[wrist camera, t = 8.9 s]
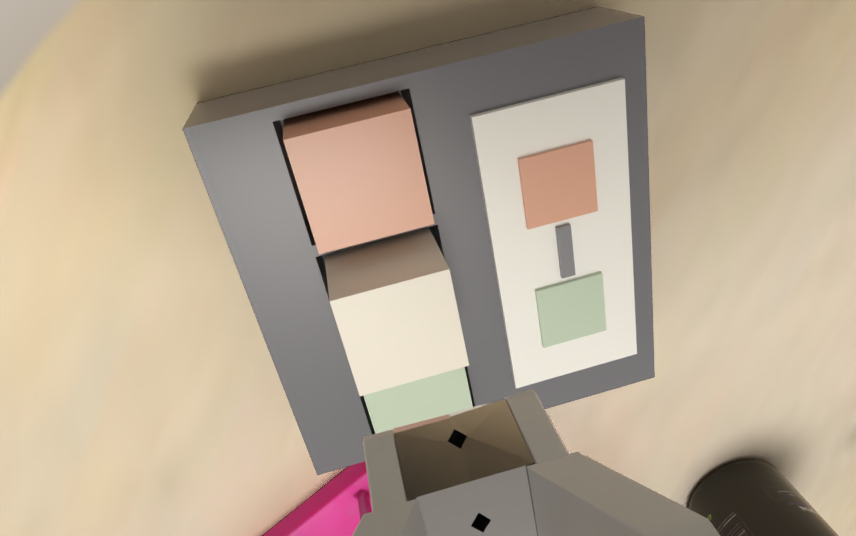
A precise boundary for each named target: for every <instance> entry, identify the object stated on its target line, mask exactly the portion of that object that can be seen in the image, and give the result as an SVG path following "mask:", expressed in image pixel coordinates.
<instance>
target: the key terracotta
mask: <svg viewBox="0 0 856 536" xmlns="http://www.w3.org/2000/svg"><path fill="white" fill-rule="evenodd" d="M283 141H284V145H285V148H286V151H287V154H288V157H289V160H290V164H291V167H292V170H293V173H294V176H295V180H296V183H297V186H298V189H299V192H300V195H301V199H302V202H303V205H304V208H305V211H306V215H307V218H308V221H309V224H310V227H311V230H312V234H313V237H314V240H315V243H316V246H317V250H318V253H319V254H323V253H327V252H330V251H334V250H338V249H342V248H346V247H349V246H353V245H357V244H361V243H365V242H368V241H372V240H376V239H380V238H384V237H387V236H391V235H395V234H399V233H403V232H406V231H410V230H414V229H418V228H422V227H425V226H429V225H433V224H434V219H433V214H432V209H431V204H430V200H429V195H428V190H427V185H426V181H425V176H424V171H423V166H422V161H421V157H420V152H419V147H418V142H417V138H416V133H415V128H414V123H413V118H412V114H411V109H410V107H409V106H408V105H407V103H406V102H405V100H404V99H403V98H402V96H401V95H400V94H399V92H398V91H397V92H393V93H388V94H384V95H380V96H376V97H372V98H368V99H364V100H360V101H356V102H352V103H348V104H344V105H340V106H335V107H331V108H327V109H323V110H319V111H315V112H311V113H307V114H303V115H299V116H295V117H291V118H287V119H284V123H283Z"/></svg>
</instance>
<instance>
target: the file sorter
mask: <svg viewBox="0 0 856 536" xmlns="http://www.w3.org/2000/svg"><path fill="white" fill-rule="evenodd" d="M370 512H372V506H371V499H370V492H369V484H368V477H367V470H366V463H365V462H361V463H358V464H354V465H351V466H349V467H347V468H346V469H345V470H344V471H342V472H341V473H340V474H339V475H337V476H336V477H335V478H333V479H332V480H331V481H330V482H329V483H327V484H326V485H325V486H324V487H323V488H321V489H320V490H319V491H318V492H316V493H315V494H314V495H313V496H311V497H310V498H309V499H308V500H306V501H305V502H304V503H303V504H301V505H300V506H299V507H298V508H296V509H295V510H294V511H293V512H291V513H290V514H289V515H288V516H286V517H285V518H284V519H283V520H281V521H280V522H279V523H278V524H276V525H275V526H274V527H273V528H272V529H270V530H269V531H268V532H267V533H265V534H264V535H263V536H352V535H353V533H354V531H355V529H356V527H357V526H358V524H359V522H360V520H361V518H362V516H363V515H364V514H366V513H370Z"/></svg>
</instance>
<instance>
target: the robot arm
mask: <svg viewBox="0 0 856 536" xmlns="http://www.w3.org/2000/svg"><path fill="white" fill-rule="evenodd" d="M363 448H364V456H365V463H366V470H367V477H368V484H369V492H370V499H371V506H372V512H370V513H366V514H364V515H363V516H362V518H361V520H360V522H359V524H358V526H357V527H356V529H355V531H354V533H353V535H352V536H720V535H719V533H718V532H717V530H716V529H715V528H714V526H713V525H712V523H711V522H710V521H709V519H707V518H705V517H703V516H701V515H700V514H698V513H696V512H694V511H692V510H690V509H688V508H686V507H684V506H682V505H680V504H678V503H676V502H674V501H672V500H670V499H668V498H666V497H665V496H663V495H661V494H659V493H657V492H655V491H653V490H651V489H649V488H647V487H645V486H643V485H641V484H639V483H637V482H635V481H633V480H632V479H630V478H628V477H626V476H624V475H622V474H620V473H618V472H616V471H614V470H612V469H610V468H608V467H606V466H604V465H602V464H600V463H598V462H597V461H595V460H593V459H591V458H589V457H587V456H585V455H583V454H581V453H579V452H575V453H571V454H569V453H568V451H567V449H566V447H565V445H564V444H563V442H562V440H561V438H560V436H559V434H558V433H557V431H556V429H555V427H554V425H553V423H552V422H551V420H550V418H549V416H548V414H547V412H546V411H545V409H544V407H543V405H542V403H541V401H540V399H539V398H538V396H537V394H536V392H535V391H533V390H532V389H530V390H527V391H524V392H520V393H517V394H514V395H511V396H507V397H504V399H503V398H502V399H499V400H495V401H492V402H489V403H485V404H482V405H478V406H475V407H471V408H468V409H465V410H461V411H458V412H454V413H451V414H447V415H444V416H440V417H436V418H432V419H428V420H424V421H420V422H416V423H413V424H409V425H405V426H401V427H397V428H393V430H388V431H384V432H380V433H376V434H372V435H368V436H365V437H364V438H363Z"/></svg>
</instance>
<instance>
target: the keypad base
mask: <svg viewBox="0 0 856 536" xmlns="http://www.w3.org/2000/svg"><path fill="white" fill-rule="evenodd" d="M397 91H398V92H399V94H400V95H401V96H402V98H403V99H404V100H405V102H406V103H407V105H408V106H409V107H410V109H411V114H412V118H413V123H414V128H415V133H416V138H417V142H418V147H419V152H420V157H421V161H422V166H423V171H424V176H425V181H426V185H427V190H428V195H429V200H430V204H431V209H432V214H433V219H434V224H433V225H429V226H425V227H422V228H418V229H414V230H410V231H406V232H403V233H399V234H395V235H391V236H387V237H384V238H380V239H376V240H372V241H368V242H365V243H361V244H357V245H353V246H349V247H346V248H342V249H338V250H334V251H330V252H327V253H323V254H319V253H318V250H317V246H316V243H315V240H314V237H313V234H312V230H311V227H310V224H309V221H308V218H307V215H306V211H305V208H304V205H303V202H302V199H301V195H300V192H299V189H298V186H297V183H296V180H295V176H294V173H293V170H292V167H291V164H290V160H289V157H288V154H287V151H286V148H285V145H284V141H283V123H284V119H287V118H291V117H295V116H299V115H303V114H307V113H311V112H315V111H319V110H323V109H327V108H331V107H335V106H340V105H344V104H348V103H352V102H356V101H360V100H364V99H368V98H372V97H376V96H380V95H384V94H388V93H393V92H397ZM183 131H184V134H185V136H186V139H187V142H188V144H189V147H190V149H191V152H192V154H193V157H194V159H195V162H196V165H197V167H198V170H199V172H200V175H201V177H202V180H203V183H204V185H205V188H206V190H207V193H208V195H209V198H210V201H211V203H212V206H213V208H214V211H215V213H216V216H217V218H218V221H219V224H220V226H221V229H222V231H223V234H224V236H225V239H226V242H227V244H228V247H229V249H230V252H231V254H232V257H233V260H234V262H235V265H236V267H237V270H238V272H239V275H240V278H241V280H242V283H243V285H244V288H245V290H246V293H247V295H248V298H249V301H250V303H251V306H252V308H253V311H254V313H255V316H256V319H257V321H258V324H259V326H260V329H261V331H262V334H263V337H264V339H265V342H266V344H267V347H268V349H269V352H270V355H271V357H272V360H273V362H274V365H275V367H276V370H277V372H278V375H279V378H280V380H281V383H282V385H283V388H284V390H285V393H286V396H287V398H288V401H289V403H290V406H291V408H292V411H293V414H294V416H295V419H296V421H297V424H298V426H299V429H300V431H301V434H302V437H303V439H304V442H305V444H306V447H307V449H308V452H309V455H310V457H311V460H312V462H313V465H314V467H315V470H316V473H317V475H320V474H323V473H327V472H330V471H334V470H337V469H341V468H344V467H347V466H351V465H354V464H358V463H361V462H365V456H364V448H363V438H364V437H365V436H368V435H372V434H375V431H374V428H373V425H372V421H371V418H370V415H369V412H368V409H367V405H366V402H365V399H364V396H359V392H358V389H357V386H356V383H355V380H354V377H353V374H352V370H351V367H350V364H349V361H348V358H347V355H346V352H345V348H344V345H343V342H342V339H341V336H340V333H339V330H338V326H337V323H336V320H335V317H334V314H333V311H332V308H331V304H330V301H329V292H328V284H327V275H326V266H325V258H324V255H325V254H329V253H333V252H337V251H340V250H344V249H348V248H352V247H356V246H359V245H363V244H367V243H371V242H374V241H378V240H382V239H386V238H390V237H393V236H397V235H401V234H405V233H409V232H412V231H416V230H420V229H424V228H428V227H429V228H430V231H431V233H432V235H433V237H434V239H435V241H436V243H437V245H438V247H439V249H440V251H441V253H442V255H443V257H444V259H445V261H446V263H447V265H448V267H449V269H450V274H451V279H452V284H453V289H454V294H455V298H456V303H457V308H458V313H459V318H460V323H461V328H462V333H463V338H464V342H465V347H466V352H467V357H468V362H469V366H466V367H465V372H466V376H467V381H468V386H469V391H470V395H471V400H472V405H473V407H475V406H478V405H482V404H485V403H489V402H492V401H495V400H499V399H502V398H503V399H504V397H507V396H511V395H514V394H517V393H520V392H524V391H527V390H530V389H532V390H533V391H535V392H536V394H537V396H538V398H539V399H540V401H541V403H542V405H543V407H544V409H547V408H550V407H554V406H557V405H561V404H564V403H567V402H571V401H574V400H578V399H581V398H585V397H588V396H591V395H595V394H598V393H602V392H605V391H609V390H612V389H616V388H619V387H622V386H626V385H629V384H633V383H636V382H640V381H643V380H646V379H650V378H653V377H655V375H654V340H653V305H652V270H651V235H650V200H649V164H648V129H647V94H646V59H645V24H644V16H639V15H635V14H630V13H625V12H621V11H616V10H611V9H606V8H602V7H595V8H591V9H586V10H582V11H578V12H574V13H570V14H566V15H561V16H557V17H553V18H549V19H545V20H541V21H537V22H532V23H528V24H524V25H520V26H516V27H512V28H507V29H503V30H499V31H495V32H491V33H487V34H483V35H478V36H474V37H470V38H466V39H462V40H458V41H453V42H449V43H445V44H441V45H437V46H433V47H429V48H424V49H420V50H416V51H412V52H408V53H404V54H399V55H395V56H391V57H387V58H383V59H379V60H374V61H370V62H366V63H362V64H358V65H354V66H350V67H345V68H341V69H337V70H333V71H329V72H325V73H320V74H316V75H312V76H308V77H304V78H300V79H296V80H291V81H287V82H283V83H279V84H275V85H271V86H266V87H262V88H258V89H254V90H250V91H246V92H242V93H237V94H233V95H229V96H225V97H221V98H217V99H212V100H208V101H204V102H200V103H197V104H196V106H195V108H194V109H193V111H192V113H191V115H190V117H189V118H188V120H187V122H186V124H185V125H184V127H183Z"/></svg>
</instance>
